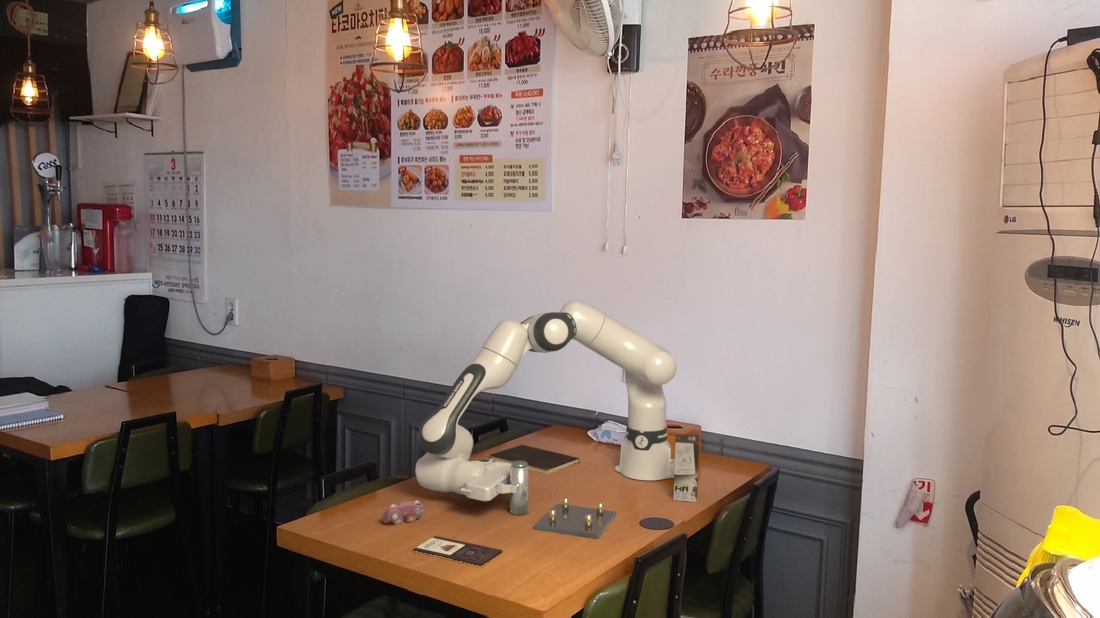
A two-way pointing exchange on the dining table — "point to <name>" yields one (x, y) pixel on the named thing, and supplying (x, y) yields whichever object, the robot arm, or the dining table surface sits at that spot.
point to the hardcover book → (535, 458)
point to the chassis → (576, 520)
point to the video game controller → (403, 512)
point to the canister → (520, 478)
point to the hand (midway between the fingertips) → (522, 485)
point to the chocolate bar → (458, 550)
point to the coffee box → (686, 467)
